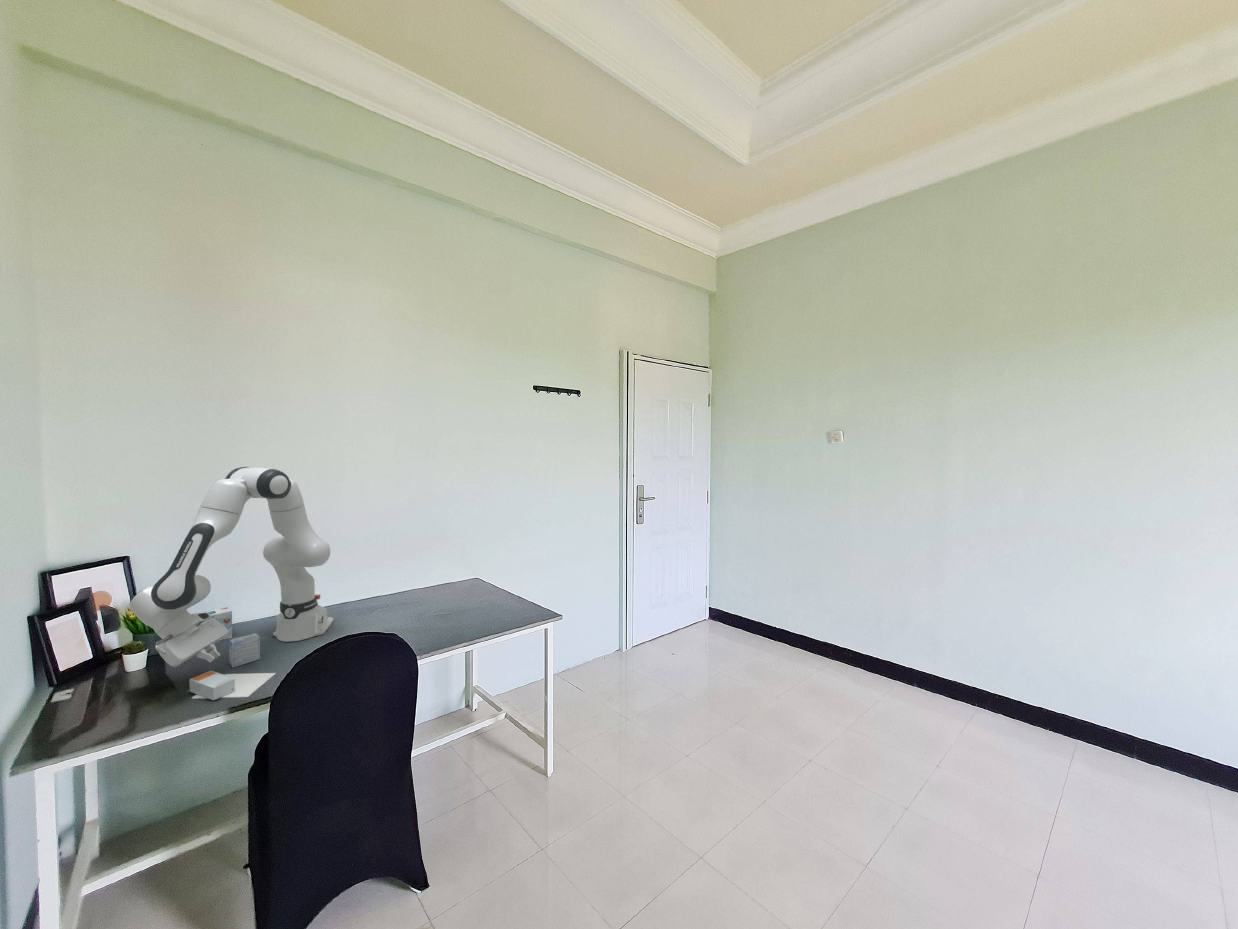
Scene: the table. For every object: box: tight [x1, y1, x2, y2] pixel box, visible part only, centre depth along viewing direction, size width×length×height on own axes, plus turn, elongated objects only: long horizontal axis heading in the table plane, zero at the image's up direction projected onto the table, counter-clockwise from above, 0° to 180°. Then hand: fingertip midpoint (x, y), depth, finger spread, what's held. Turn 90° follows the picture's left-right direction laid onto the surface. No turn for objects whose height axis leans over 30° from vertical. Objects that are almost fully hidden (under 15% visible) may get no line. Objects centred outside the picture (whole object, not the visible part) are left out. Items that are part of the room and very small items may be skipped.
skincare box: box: [189, 670, 235, 701], centre depth 147 cm, size 6×4×12 cm
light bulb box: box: [194, 606, 233, 641], centre depth 182 cm, size 11×7×11 cm, turn 137°
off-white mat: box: [191, 672, 277, 700], centre depth 151 cm, size 14×16×1 cm
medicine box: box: [228, 632, 261, 668], centre depth 166 cm, size 8×4×9 cm, turn 141°
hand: (215, 658), depth 150 cm, fingers closed
